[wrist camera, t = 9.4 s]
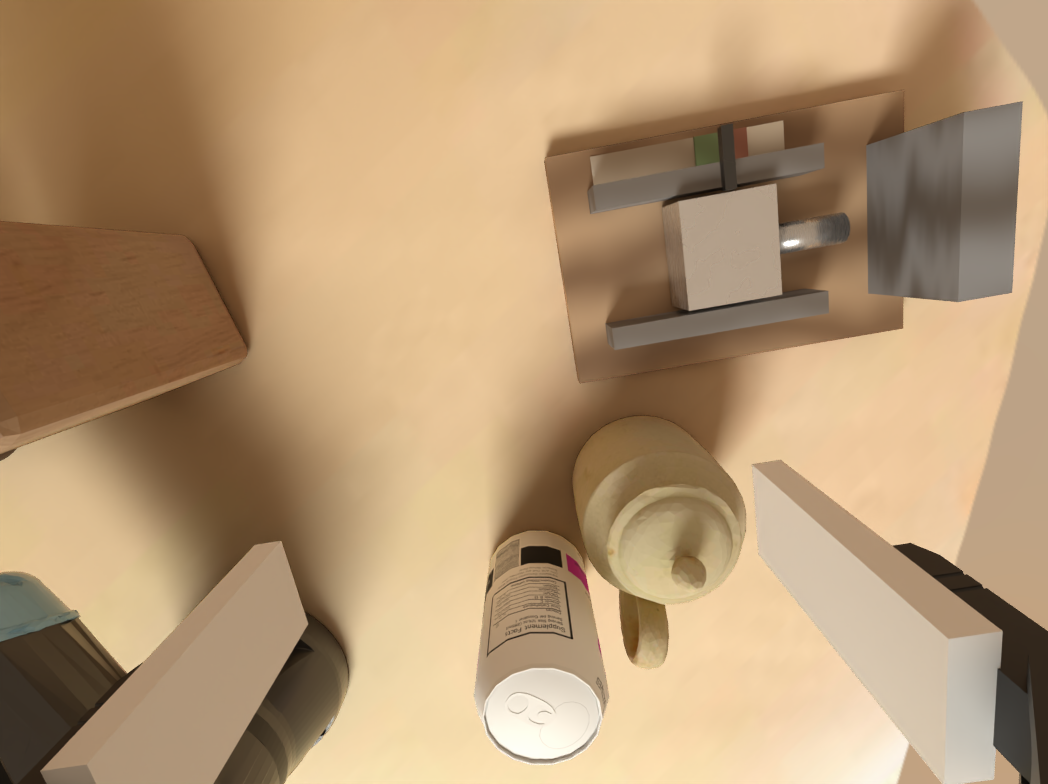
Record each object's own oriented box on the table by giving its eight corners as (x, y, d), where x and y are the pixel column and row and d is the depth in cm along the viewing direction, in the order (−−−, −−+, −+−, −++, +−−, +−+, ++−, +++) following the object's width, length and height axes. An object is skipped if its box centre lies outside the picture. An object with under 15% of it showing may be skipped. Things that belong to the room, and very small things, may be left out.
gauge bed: (895, 324, 39) (1009, 344, 30) (577, 378, 40) (593, 413, 31) (895, 95, 36) (1025, 37, 26) (544, 161, 37) (551, 128, 27)
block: (193, 230, 38) (-157, 197, 18) (257, 356, 40) (7, 446, 21) (75, 280, 39) (-377, 299, 19) (145, 400, 41) (-196, 526, 22)
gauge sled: (825, 278, 37) (868, 281, 32) (671, 305, 37) (692, 311, 33) (820, 119, 34) (865, 97, 30) (655, 150, 35) (675, 133, 30)
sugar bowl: (732, 552, 44) (834, 694, 30) (609, 591, 45) (649, 748, 31) (683, 394, 41) (772, 467, 26) (552, 440, 42) (567, 536, 27)
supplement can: (601, 552, 44) (640, 695, 30) (552, 624, 46) (565, 792, 31) (519, 509, 43) (517, 635, 29) (472, 584, 45) (447, 739, 30)
